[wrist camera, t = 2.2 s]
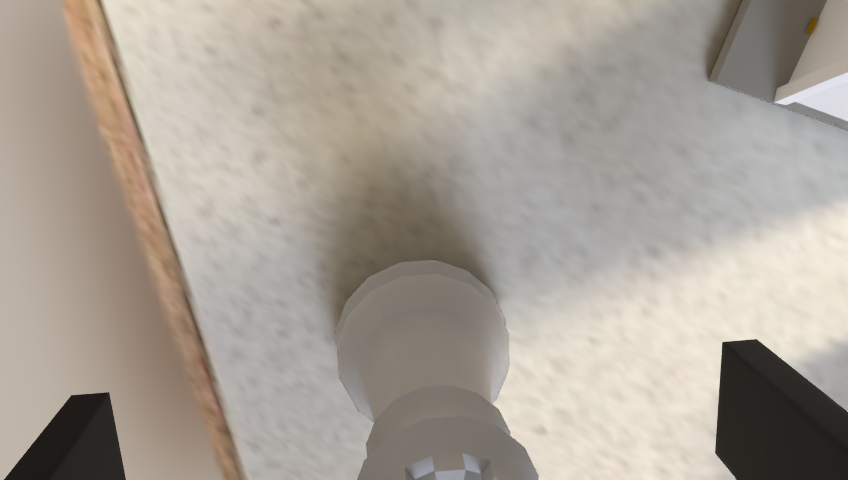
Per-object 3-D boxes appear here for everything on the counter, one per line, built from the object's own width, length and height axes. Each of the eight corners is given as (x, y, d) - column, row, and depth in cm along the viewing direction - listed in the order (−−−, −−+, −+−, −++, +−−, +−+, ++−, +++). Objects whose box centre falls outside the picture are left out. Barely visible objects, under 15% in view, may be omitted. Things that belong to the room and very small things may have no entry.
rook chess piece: (300, 320, 19) (254, 520, 12) (438, 218, 19) (486, 359, 11) (403, 437, 20) (424, 689, 13) (536, 345, 20) (639, 551, 12)
